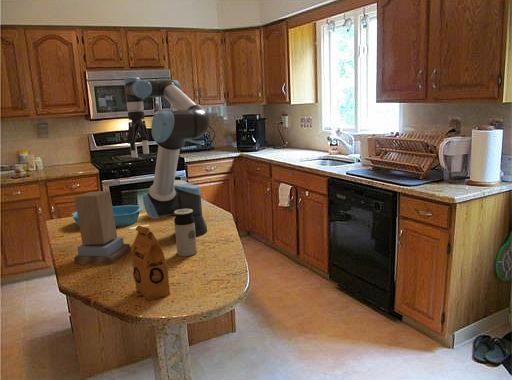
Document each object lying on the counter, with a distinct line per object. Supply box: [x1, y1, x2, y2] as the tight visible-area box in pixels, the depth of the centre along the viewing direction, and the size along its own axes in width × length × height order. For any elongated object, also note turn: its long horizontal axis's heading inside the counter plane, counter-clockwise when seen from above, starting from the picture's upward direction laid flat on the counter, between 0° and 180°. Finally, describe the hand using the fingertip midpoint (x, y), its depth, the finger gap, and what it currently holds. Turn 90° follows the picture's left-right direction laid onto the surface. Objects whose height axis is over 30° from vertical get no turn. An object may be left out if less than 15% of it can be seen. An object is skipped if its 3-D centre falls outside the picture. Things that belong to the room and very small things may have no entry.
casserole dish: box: [71, 204, 145, 227], centre depth 225 cm, size 37×22×7 cm, turn 96°
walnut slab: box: [73, 243, 131, 265], centre depth 174 cm, size 16×16×4 cm
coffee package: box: [130, 224, 171, 301], centre depth 136 cm, size 10×12×22 cm
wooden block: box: [74, 190, 118, 245], centre depth 171 cm, size 10×10×20 cm
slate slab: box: [76, 236, 125, 256], centre depth 174 cm, size 13×13×4 cm
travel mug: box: [173, 209, 198, 257], centre depth 171 cm, size 8×8×18 cm
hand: (140, 155), depth 205 cm, fingers open, 13 cm apart
